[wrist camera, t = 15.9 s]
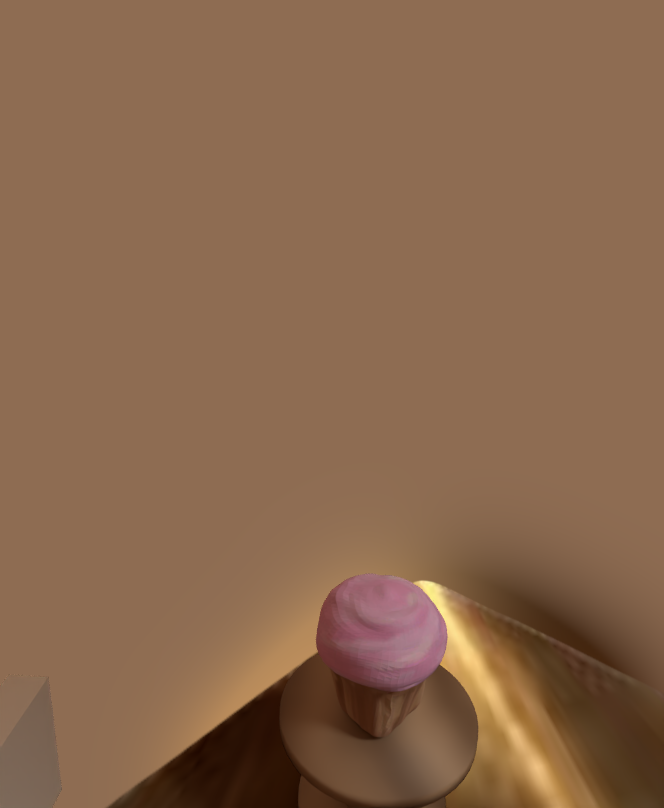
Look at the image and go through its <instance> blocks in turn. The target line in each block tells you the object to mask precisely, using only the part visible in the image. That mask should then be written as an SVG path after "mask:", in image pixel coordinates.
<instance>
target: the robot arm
mask: <svg viewBox="0 0 664 808" xmlns="http://www.w3.org/2000/svg"><path fill="white" fill-rule="evenodd" d="M61 790H62V788H61V780H60V770H59V762H58V753H57V745H56V736H55V728H54V719H53V710H52V702H51V693H50V685H49V677H44V676H24V675H8V676H7V677H6V679H5V680H4V681H3V683H2V684H1V685H0V808H52V807H53V805H54V803H55V801H56V799H57V797H58V796H59V794H60V792H61Z"/></svg>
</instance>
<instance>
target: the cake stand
mask: <svg viewBox="0 0 664 808" xmlns="http://www.w3.org/2000/svg"><path fill="white" fill-rule="evenodd" d="M279 722H280V734H281V739H282V743H283V746H284V748H285V751H286V753H287V755H288V757H289V759H290V760H291V762H292V764H293V765H294V766H295V768H296V769H297V770H298V772H299V773H300V774H301V778H300V783H299V793H298V808H446V803H445V796H447V795H448V794H449V793H450V792H452V791H453V790H454V789H456V787H457V786H458V785H459V784H460V783H461V782H462V781H463V780H464V778H465V777H466V775H467V774H468V772H469V771H470V768H471V766H472V763H473V761H474V758H475V753H476V748H477V740H478V721H477V715H476V712H475V708H474V706H473V703H472V701H471V699H470V697H469V695H468V694H467V692H466V691H465V689H464V688H463V686H462V685H461V684H460V683H459V682H458V680H457V679H456V678H455V677H454V676H453V675H452V674H451V673H450V672H448V671H447V670H446V669H445V668H443V667H442V666H441V665H439V666H438V667H437V669H436V670H435V671H434V672H433V673H432V674H431V675H430V676H429V677H428V678H427V679H426V681H425V686H424V691H423V696H422V699H421V702H420V704H419V705H418V707H417V708H416V709H415V710H414V711H412V712H411V713H410V714H408V715H407V716H406V717H405V719H404V721H403V722H402V723H401V724H400V725H399V726H397V727H396V728H395V729H394V730H393V731H392V732H391V733H390V734H389V735H388V736H386V737H374V736H372V735H371V734H370V733H368V732H367V731H365V730H363V729H362V728H361V727H360V726H359V724H357V723H356V722H355V721H354V720H353V719H351V718H350V716H349V715H348V714H347V713H345V712H344V711H343V710H342V708H341V706H340V704H339V701H338V698H337V695H336V690H335V687H334V683H333V679H332V675H331V671H330V668H329V667H328V666H327V665H326V664H325V663H324V662H323V660H322V658H321V657H320V655H319V654H317V655H315V656H313V657H312V658H310V659H309V660H307V661H306V662H305V663H303V664H302V665H301V666H300V667H299V668H298V669H297V670H296V671H295V672H294V673H293V675H292V676H291V678H290V679H289V681H288V682H287V684H286V686H285V688H284V691H283V694H282V697H281V703H280V719H279Z"/></svg>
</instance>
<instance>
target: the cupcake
mask: <svg viewBox="0 0 664 808" xmlns="http://www.w3.org/2000/svg"><path fill="white" fill-rule="evenodd" d="M316 644H317V650H318V653H319V655H320V657H321V658H322V660H323V662H324V663H325V664H326V665H327V666H328V667H329V668H330V671H331V675H332V679H333V683H334V687H335V690H336V695H337V698H338V701H339V704H340V706H341V708H342V710H343V711H344V712H345V713H347V714H348V715H349V716H350V718H351V719H353V720H354V721H355V722H356V723H357V724H359V726H360V727H361V728H362V729H363V730H365V731H367V732H368V733H370V734H371V735H372V736H374V737H386V736H388V735H389V734H390V733H391V732H392V731H393V730H394V729H395V728H396V727H397V726H399V725H400V724H401V723H402V722H403V721H404V719H405V717H406V716H407V715H408V714H410V713H411V712H412V711H414V710H415V709H416V708H417V707H418V705H419V704H420V702H421V699H422V696H423V691H424V686H425V681H426V679H427V678H428V677H429V676H430V675H431V674H432V673H433V672H434V671H435V670H436V669H437V667H438V666H439V664H440V662H441V661H442V658H443V656H444V653H445V650H446V644H447V628H446V624H445V621H444V619H443V617H442V615H441V614H440V612H439V611H438V609H437V607H436V606H435V604H434V603H433V602H432V601H431V599H430V598H429V597H428V595H427V594H426V593H425V592H423V590H422V589H421V588H419V587H418V586H416V585H414V584H413V583H411V582H410V581H408V580H406V579H403V578H400V577H396V576H390V575H376V574H363V575H358V576H354V577H351V578H349V579H346V580H345V581H343V582H342V583H341V584H339V585H338V586H336V587H335V588H334V589H332V591H331V592H330V593H329V595H328V597H327V598H326V600H325V601H324V603H323V606H322V609H321V612H320V618H319V623H318V628H317V637H316Z"/></svg>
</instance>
